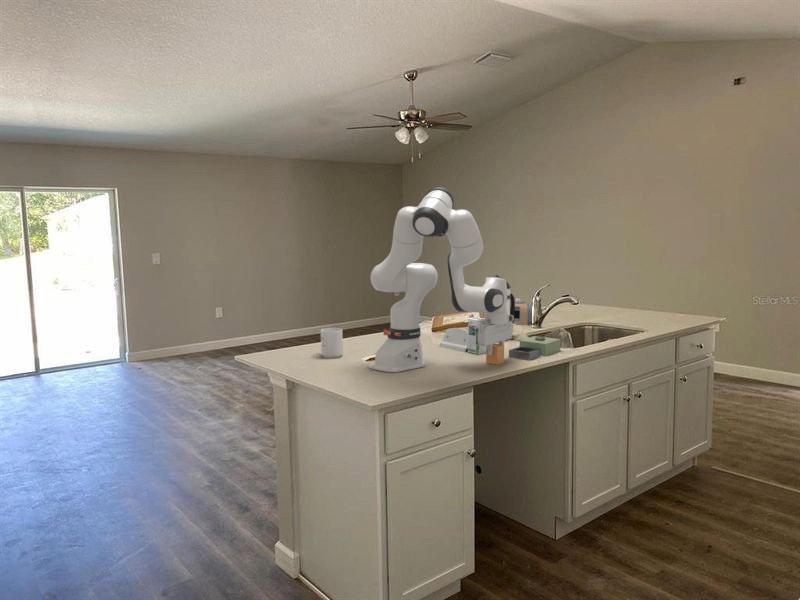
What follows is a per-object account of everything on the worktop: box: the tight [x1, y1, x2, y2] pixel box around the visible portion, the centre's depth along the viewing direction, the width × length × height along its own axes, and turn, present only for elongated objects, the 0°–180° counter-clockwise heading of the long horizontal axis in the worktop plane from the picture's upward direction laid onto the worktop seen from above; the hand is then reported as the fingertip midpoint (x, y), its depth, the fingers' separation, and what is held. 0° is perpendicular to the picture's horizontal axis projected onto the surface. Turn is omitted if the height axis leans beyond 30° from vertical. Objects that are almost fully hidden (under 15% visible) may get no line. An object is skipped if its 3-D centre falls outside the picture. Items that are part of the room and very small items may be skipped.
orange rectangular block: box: [485, 343, 505, 365], centre depth 234 cm, size 5×5×7 cm
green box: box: [519, 335, 561, 357], centre depth 253 cm, size 13×12×6 cm
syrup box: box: [467, 317, 486, 355], centre depth 253 cm, size 6×6×14 cm
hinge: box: [438, 327, 468, 353], centre depth 262 cm, size 17×5×10 cm, turn 39°
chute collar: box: [508, 345, 541, 361], centre depth 244 cm, size 9×9×3 cm
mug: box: [320, 327, 344, 359], centre depth 250 cm, size 12×9×11 cm
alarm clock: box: [510, 300, 533, 326], centre depth 327 cm, size 19×20×12 cm
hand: (495, 353), depth 234 cm, fingers closed on orange rectangular block, 5 cm apart
